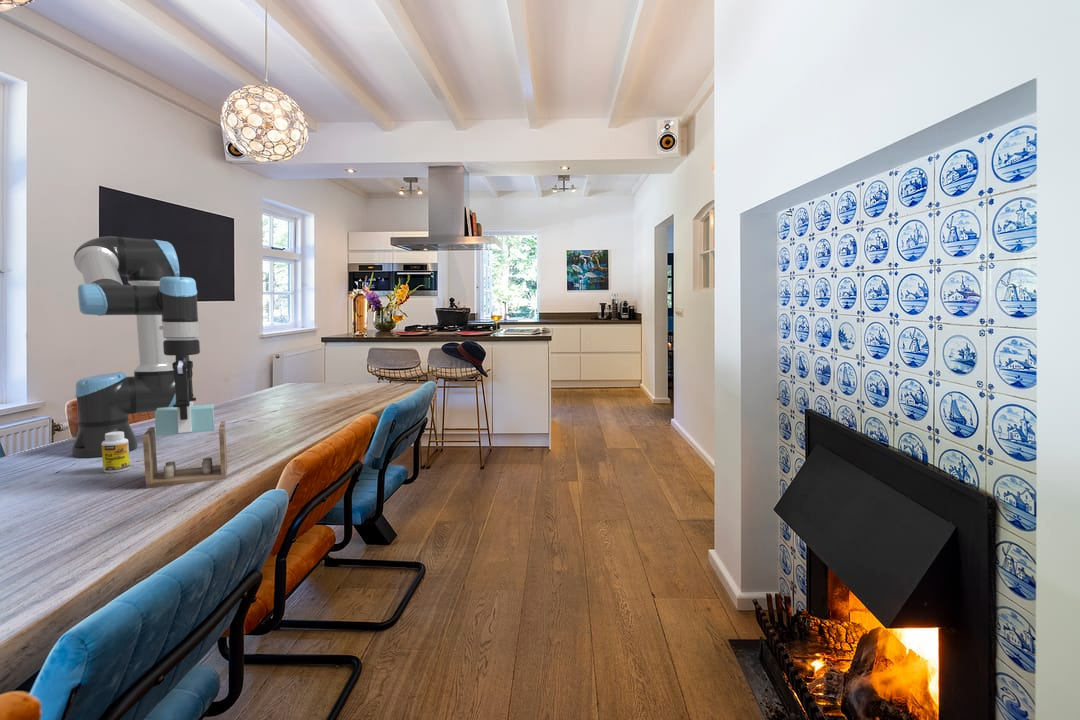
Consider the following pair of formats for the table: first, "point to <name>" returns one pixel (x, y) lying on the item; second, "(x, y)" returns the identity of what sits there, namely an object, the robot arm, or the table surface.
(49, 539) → the table surface
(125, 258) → the robot arm
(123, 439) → the supplement bottle
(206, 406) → the shelf board
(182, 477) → the peg bracket
